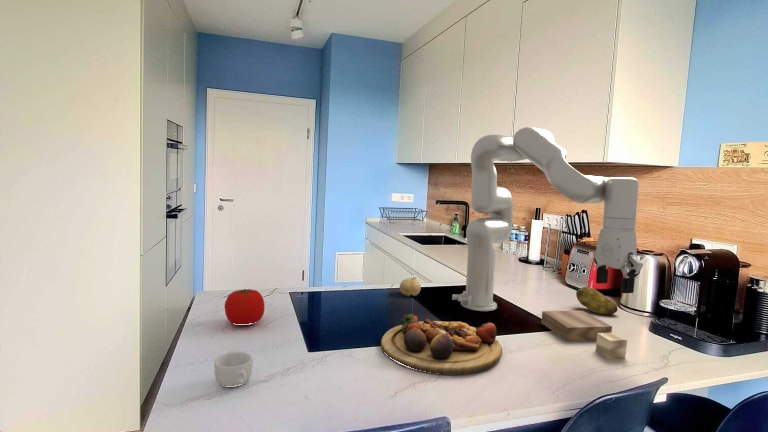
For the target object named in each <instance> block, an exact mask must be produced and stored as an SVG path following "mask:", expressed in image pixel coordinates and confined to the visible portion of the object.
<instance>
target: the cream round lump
mask: <svg viewBox="0 0 768 432" xmlns="http://www.w3.org/2000/svg"><path fill="white" fill-rule="evenodd" d="M421 287H422V286H421V283H420V282H419V280H417V277H416V276H415V277H414V276H412V277H410V278H409V277H408V278H405V279H403V280H402V281H401V282H400V284H399V291H400V293H401V295H403V296H406V297H411V296H413V297H416V296H418V294H420V291H421V289H422V288H421Z"/></svg>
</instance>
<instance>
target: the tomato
mask: <svg viewBox="0 0 768 432" xmlns="http://www.w3.org/2000/svg"><path fill="white" fill-rule="evenodd" d="M224 301H225V302H224V313H225V317H226V318H227V319H226V320H228V321H230V322H231V323H230V322H229V323H230V324H232V323H235V324H249V323H255V322H257V321H258V322H260V321H261V320H260V319H262V318H263V316H264V314H265V300H264V298H263V294H262V293H261V292H259V291H258V290H255V289H251V288H248V289H246V288H244V289H237V290H234V291H232V292H231V293H230V294H229V295H228V296H227V298H226V300H224ZM259 320H260V321H259ZM258 322H257V323H258ZM255 324H256V323H255Z"/></svg>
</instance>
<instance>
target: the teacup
mask: <svg viewBox="0 0 768 432" xmlns="http://www.w3.org/2000/svg"><path fill="white" fill-rule="evenodd" d="M213 367H214V376H215V379H216V382H217V383H218V384H219V385H220V384H221V385H224V386H235V385H239V384H243V385H245V384H246V383H247V382H248V381H249V379H250V377H251V375H252V373H253V372H252V370H253V356H252V355H251V354H250V353H248V352H245V351H229V352H225V353H223V354H220V355H218V356H217V357H216V358H215V359H214V366H213ZM247 380H248V381H247ZM221 385H220V386H221Z"/></svg>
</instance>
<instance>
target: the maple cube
mask: <svg viewBox="0 0 768 432" xmlns="http://www.w3.org/2000/svg"><path fill="white" fill-rule="evenodd" d="M627 344H628V339H626V338H624V337H622V336H621V335H619V334H618V333H616V332H612V333H597V340H596V344H595V351H596V352H597V351H598V352H597V353H599V354H600V355H602V356H603V357H605V358H606V359H626V354H627Z"/></svg>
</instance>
